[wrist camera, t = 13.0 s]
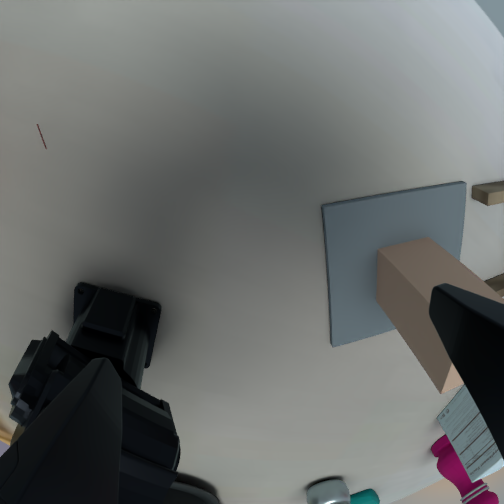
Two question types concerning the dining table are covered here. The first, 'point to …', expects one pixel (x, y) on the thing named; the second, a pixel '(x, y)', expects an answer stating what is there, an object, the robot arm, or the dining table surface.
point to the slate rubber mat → (379, 236)
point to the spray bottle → (365, 497)
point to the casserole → (188, 495)
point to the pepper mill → (460, 475)
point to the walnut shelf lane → (489, 196)
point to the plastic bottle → (329, 493)
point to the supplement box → (470, 436)
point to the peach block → (423, 300)
